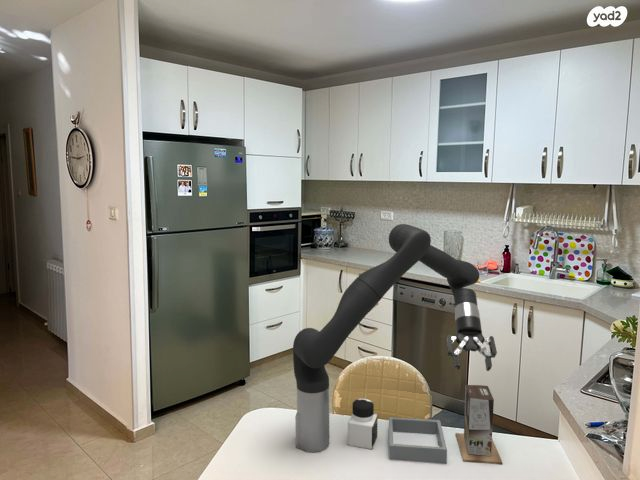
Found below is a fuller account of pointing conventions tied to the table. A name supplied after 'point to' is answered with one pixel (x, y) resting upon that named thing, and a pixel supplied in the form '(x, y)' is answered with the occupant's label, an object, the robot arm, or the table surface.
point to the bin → (416, 451)
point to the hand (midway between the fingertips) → (473, 369)
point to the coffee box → (478, 419)
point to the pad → (477, 458)
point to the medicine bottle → (362, 424)
